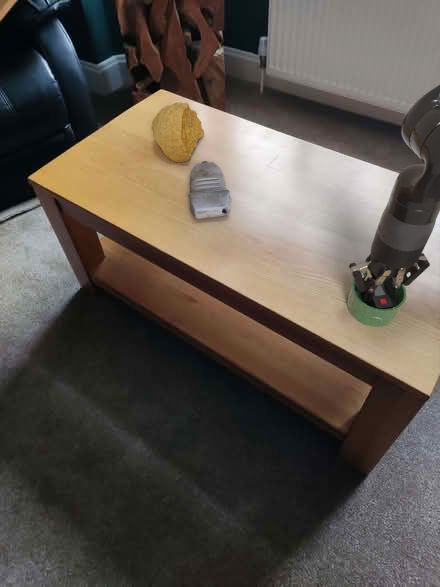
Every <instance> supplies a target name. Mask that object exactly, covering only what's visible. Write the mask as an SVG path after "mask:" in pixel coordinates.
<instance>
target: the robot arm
mask: <svg viewBox="0 0 440 587" xmlns="http://www.w3.org/2000/svg"><path fill="white" fill-rule="evenodd" d="M400 133H401V137H402V140H403V141H404V143H405V144H406V145H407V146H408V148H410V150H411V151H412V152H413V153H414V154H415V155H416V156H417V157H418V158H419V159H420V161H422V162H423V164H421V163H419V164H412V165H408V166H407V167H404V169H402V170H401V171H400V173H399V174H398V175H397V176H396V179H395V181H394V184H393V187H392V190H391V192H390V194H389V198H388V201H387V203H386V205H385V208H384V209H383V211H382V213H381V216H380V219H379V221H378V224H377V228H376V231H375V234H374V236H373V240H372V242H371V246H370V253H369V255H368V256H367V257H366V258H365V261H364V262H362V263H360V264H357V263H356V262H351V263H349V265H348V268H349V271H350V273H351V275H352V278H353V281H354V280H355V283H356V285H357V287H358V290H359V292H361V297H362V299H363V301H364V302H365V303H366V304H370V303H371V300H372V298H373V296H374V294H375V290H376V289H377V287H378V286H381V285H382V283H383V282H384V280H385V279H386V278H388V280H387V281H386V282H385V284H384V288H385V290H386V292H387V294H388V295H389V297H390V298H392V297H393V296H394V293H395V291H396V289H398V288H400V285H404V287H408V286H409V285H411V284H412V283H413V282H414V281H415V280H417V279H418V278H419V276H421V275H422V274H423V273H424V272H425V271H426V270H428V268H429V267H430V266H431V263H430V262H429V259H428V257H427V256H426V255H425V253H424V252H423V251H424V249H425V247H426V245H427V244H428V242H429V240H430V237H431V235H432V233H433V231H434V228H435V225H436V222H437V218H438V216H439V214H440V84H438V85H437V86H435V87H433V88H432V89H430V90H429V91H428V92H426V93H425V94H423V95H422V96H420V98H419V99H418V100H416V102H415V103H414V104H412V106H411V107H410V109H409V110H408V111H407V113H406V114H405V117H404V118H403V121H402V123H401V128H400ZM365 271H367V276H366V278H365V280H363V279H362V278H364V274H365ZM408 274H410V275H408Z"/></svg>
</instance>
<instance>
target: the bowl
mask: <svg viewBox="0 0 440 587" xmlns="http://www.w3.org/2000/svg"><path fill="white" fill-rule="evenodd" d="M367 271H368V270H366V271H365V274H364V278H366V276H367ZM364 278H362V279H364ZM387 280H388V278H386V279H385V280H384V282H383V285H384V284H385V282H386V281H387ZM390 299H391V301H392V304H393V306H394V307H393V308H391V309H376V308H373V307H370V306H369V304H366V303H365V302H364V301H363V299H362V297H361V292H359V290H358V287H357V285H356V283H355V280H354V279H353V281H352V283H351V286H350V290H349V292H348V296H347V299H346V304H347V305H346V306H347V310H348V312H349V313H350V315H351V316H352V317H353V318H354V319H355V320H357V321H358V322H359V323H361V324H363V325H366V326H369V327H374V328H375V327H377V328H379V327H384V326H388V325H390V324H391V323H393V322H394V321H395V320H396V319H397V317H398V316H399V314H400V312H401V310H402V308H403V306H404V305H405V302H406V300H407V289H406V286H404V284H403V285H400V288H398V289H396V291H395V293H394V296H393V297H392V298H390Z"/></svg>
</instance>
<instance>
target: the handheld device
mask: <svg viewBox="0 0 440 587" xmlns="http://www.w3.org/2000/svg"><path fill="white" fill-rule="evenodd" d="M189 188H190V193H189V194H188V204H189V210H190V212H191V214H192V216H193V217H194V218H195V219H198V220H199V219H207V218H208V219H209V218H218V217H227V216H228V215H229V213H230V211H231V205H232V197H231V191H230V189H227V185H226V180H225V175H224V173H223V171H222V169H221V168H220V166H219V165H218V164H216V163H215V162H213V161H212V162H209V161H207V160H204V161H202V162H201V163H197V164H195V165H194V166H193V168H192V170H191V172H190V176H189Z"/></svg>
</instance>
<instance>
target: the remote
mask: <svg viewBox="0 0 440 587" xmlns="http://www.w3.org/2000/svg"><path fill="white" fill-rule="evenodd" d="M363 280H365V278H364V279H363ZM369 306H370V307H373V308H376V309H391V308H393V307H394V306H393V304H392V301H391V299H390V297H389V295H388V294H387V292H386V290H385V288H384V285H383V283H382V285H381V286H378V287H377V289H376V290H375V294H374V296H373V298H372V300H371V303H370V304H369Z"/></svg>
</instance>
